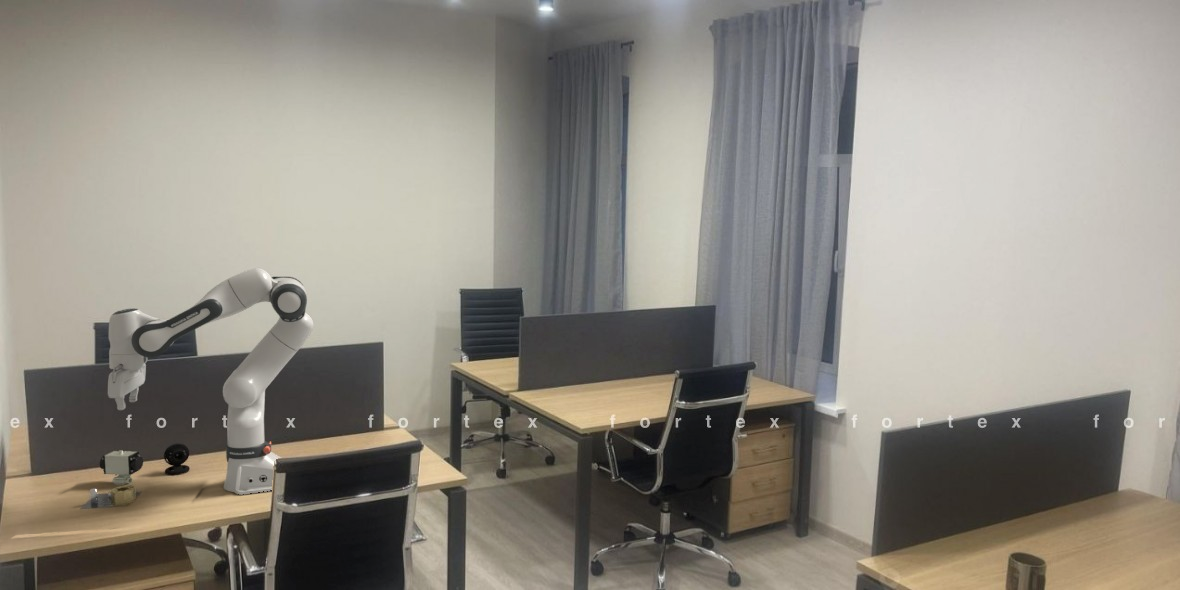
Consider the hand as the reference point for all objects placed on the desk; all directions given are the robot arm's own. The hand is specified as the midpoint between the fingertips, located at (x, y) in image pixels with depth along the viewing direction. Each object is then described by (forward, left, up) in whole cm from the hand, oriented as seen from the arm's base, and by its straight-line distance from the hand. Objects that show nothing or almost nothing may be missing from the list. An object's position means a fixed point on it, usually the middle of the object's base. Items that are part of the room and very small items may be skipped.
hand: (127, 405), depth 232 cm
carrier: (+5, +3, -30) cm, 30 cm away
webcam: (-6, -24, -30) cm, 39 cm away
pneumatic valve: (+7, -13, -30) cm, 33 cm away
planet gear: (+1, +5, -29) cm, 29 cm away
